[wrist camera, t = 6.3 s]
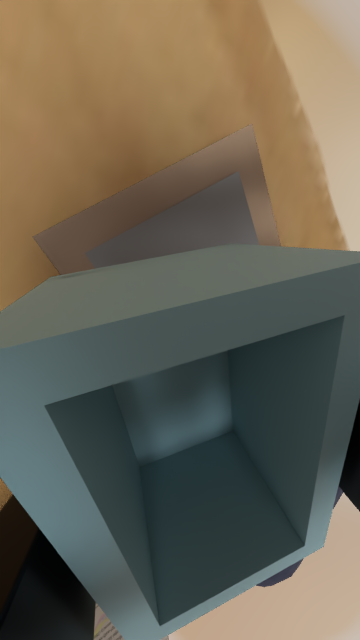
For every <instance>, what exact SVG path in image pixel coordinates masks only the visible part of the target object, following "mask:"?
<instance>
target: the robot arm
mask: <svg viewBox="0 0 360 640" xmlns="http://www.w3.org/2000/svg"><path fill="white" fill-rule="evenodd" d="M339 487H340V489H341V490H342V491H343V492H344V493H345V495H346V496H347V497H348V498H349V499H350V501H351V502H352V503H353V504H354V505H355V507H357V509H358V510H359V511H360V400H359V404H358V408H357V412H356V416H355V420H354V424H353V428H352V432H351V436H350V441H349V445H348V449H347V453H346V457H345V461H344V465H343V469H342V473H341V477H340V481H339ZM95 607H96V602H95V600H94V599H93V598H92V596H91V595H90V594H89V592H88V591H87V590H86V589H85V587H84V586H83V585H82V583H81V582H80V581H79V579H78V578H77V577H76V575H75V574H74V573H73V572H72V570H71V569H70V568H69V566H68V565H67V564H66V562H65V561H64V560H63V559H62V557H61V556H60V555H59V553H58V552H57V551H56V549H55V548H54V547H53V545H52V544H51V543H50V542H49V540H48V539H47V538H46V536H45V535H44V534H43V532H42V531H41V530H40V528H39V527H38V526H37V525H36V523H35V522H34V521H33V519H32V518H31V517H30V515H29V514H28V513H27V511H26V510H25V509H24V508H23V506H22V505H21V504H20V502H19V501H18V500H17V498H16V497H15V496H14V494H13V495H12V496H11V497H10V499H9V500H8V501H7V503H6V504H5V505H4V507H3V508H2V509H1V511H0V640H94V625H95Z"/></svg>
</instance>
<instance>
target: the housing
mask: <svg viewBox="0 0 360 640" xmlns="http://www.w3.org/2000/svg"><path fill="white" fill-rule="evenodd" d="M359 400H360V252H357V251H342V250H326V249H311V248H295V247H280V246H264V245H249V244H233V243H230V244H225V245H219V246H214V247H209V248H203V249H198V250H193V251H187V252H182V253H177V254H171V255H166V256H161V257H155V258H150V259H145V260H139V261H134V262H128V263H123V264H118V265H112V266H107V267H102V268H96V269H91V270H86V271H80V272H75V273H70V274H64V275H59V276H54V277H50V278H48V279H47V280H45V281H44V282H43V283H41V284H40V285H38V286H37V287H35V288H34V289H32V290H31V291H30V292H28V293H27V294H25V295H24V296H22V297H21V298H19V299H18V300H17V301H15V302H14V303H12V304H11V305H9V306H8V307H6V308H5V309H3V310H2V311H1V312H0V478H1V479H2V480H3V481H4V483H5V484H6V485H7V487H8V488H9V489H10V491H11V492H12V493H13V494H14V496H15V497H16V498H17V500H18V501H19V502H20V504H21V505H22V506H23V508H24V509H25V510H26V511H27V513H28V514H29V515H30V517H31V518H32V519H33V521H34V522H35V523H36V525H37V526H38V527H39V528H40V530H41V531H42V532H43V534H44V535H45V536H46V538H47V539H48V540H49V542H50V543H51V544H52V545H53V547H54V548H55V549H56V551H57V552H58V553H59V555H60V556H61V557H62V559H63V560H64V561H65V562H66V564H67V565H68V566H69V568H70V569H71V570H72V572H73V573H74V574H75V575H76V577H77V578H78V579H79V581H80V582H81V583H82V585H83V586H84V587H85V589H86V590H87V591H88V592H89V594H90V595H91V596H92V598H93V599H94V600H95V602H96V603H97V604H98V606H99V607H100V608H101V609H102V611H103V612H104V613H105V615H106V616H107V617H108V619H109V620H110V621H111V623H112V624H113V625H114V626H115V628H116V629H117V630H118V632H119V633H120V634H121V636H122V637H123V638H124V640H160V639H162V638H164V637H166V636H167V635H169V634H171V633H173V632H174V631H176V630H178V629H180V628H181V627H183V626H185V625H187V624H188V623H190V622H192V621H194V620H195V619H197V618H199V617H201V616H203V615H204V614H206V613H208V612H209V611H211V610H213V609H215V608H217V607H218V606H220V605H222V604H224V603H225V602H227V601H229V600H231V599H232V598H234V597H236V596H237V595H239V594H241V593H243V592H245V591H246V590H248V589H250V588H252V587H254V586H255V585H257V584H259V583H261V582H262V581H264V580H266V579H268V578H269V577H271V576H273V575H275V574H276V573H278V572H280V571H282V570H283V569H285V568H287V567H289V566H290V565H292V564H294V563H296V562H298V561H299V560H301V559H303V558H304V557H306V556H308V555H310V554H312V553H313V552H315V551H317V550H318V549H320V548H322V547H323V546H324V543H325V538H326V535H327V530H328V526H329V522H330V518H331V514H332V510H333V506H334V502H335V498H336V494H337V490H338V486H339V481H340V477H341V473H342V469H343V465H344V461H345V457H346V453H347V449H348V445H349V441H350V436H351V432H352V428H353V424H354V420H355V416H356V412H357V408H358V404H359Z"/></svg>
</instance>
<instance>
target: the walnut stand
mask: <svg viewBox="0 0 360 640" xmlns="http://www.w3.org/2000/svg"><path fill="white" fill-rule="evenodd" d="M33 238H34V240H35V241H36V242H37V244H38V245H39V246H40V248H41V249H42V250H43V252H44V253H45V254H46V256H47V257H48V258H49V260H50V261H51V262H52V264H53V265H54V266H55V268H56V269H57V270H58V272H59V273H60V274H61V275H64V274H70V273H75V272H80V271H86V270H91V269H96V268H102V267H107V266H112V265H118V264H123V263H128V262H134V261H139V260H145V259H150V258H155V257H161V256H166V255H171V254H177V253H182V252H187V251H193V250H198V249H203V248H209V247H214V246H219V245H225V244H230V243H233V244H249V245H264V246H280V247H281V244H280V240H279V236H278V232H277V227H276V223H275V219H274V215H273V210H272V206H271V202H270V197H269V193H268V189H267V185H266V180H265V176H264V172H263V168H262V163H261V159H260V155H259V151H258V146H257V142H256V138H255V134H254V129H253V125H252V124H250V125H248V126H246V127H244V128H242V129H241V130H239V131H237V132H235V133H233V134H231V135H229V136H227V137H225V138H223V139H221V140H219V141H217V142H215V143H213V144H211V145H210V146H208V147H206V148H204V149H202V150H200V151H198V152H196V153H194V154H192V155H190V156H188V157H186V158H184V159H182V160H180V161H179V162H177V163H175V164H173V165H171V166H169V167H167V168H165V169H163V170H161V171H159V172H157V173H155V174H153V175H151V176H149V177H148V178H146V179H144V180H142V181H140V182H138V183H136V184H134V185H132V186H130V187H128V188H126V189H124V190H122V191H120V192H118V193H116V194H115V195H113V196H111V197H109V198H107V199H105V200H103V201H101V202H99V203H97V204H95V205H93V206H91V207H89V208H87V209H85V210H84V211H82V212H80V213H78V214H76V215H74V216H72V217H70V218H68V219H66V220H64V221H62V222H60V223H58V224H56V225H54V226H53V227H51V228H49V229H47V230H45V231H43V232H41V233H39V234H37V235H35V236H33Z"/></svg>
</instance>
